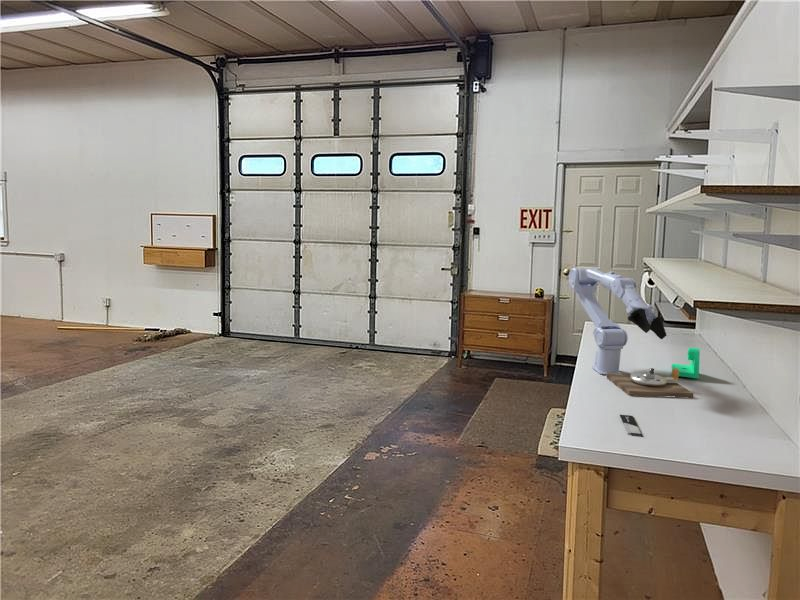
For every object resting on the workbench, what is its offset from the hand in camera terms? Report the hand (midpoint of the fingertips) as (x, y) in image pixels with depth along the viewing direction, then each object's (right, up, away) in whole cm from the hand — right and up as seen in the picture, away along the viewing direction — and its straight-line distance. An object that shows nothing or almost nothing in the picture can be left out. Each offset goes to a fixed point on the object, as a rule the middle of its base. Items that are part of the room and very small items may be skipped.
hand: (656, 333), depth 186 cm
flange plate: (+3, -16, +8) cm, 18 cm away
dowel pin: (+4, -16, +14) cm, 21 cm away
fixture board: (+1, -18, +8) cm, 20 cm away
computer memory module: (-19, -23, -28) cm, 41 cm away
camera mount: (+21, -17, +25) cm, 37 cm away
